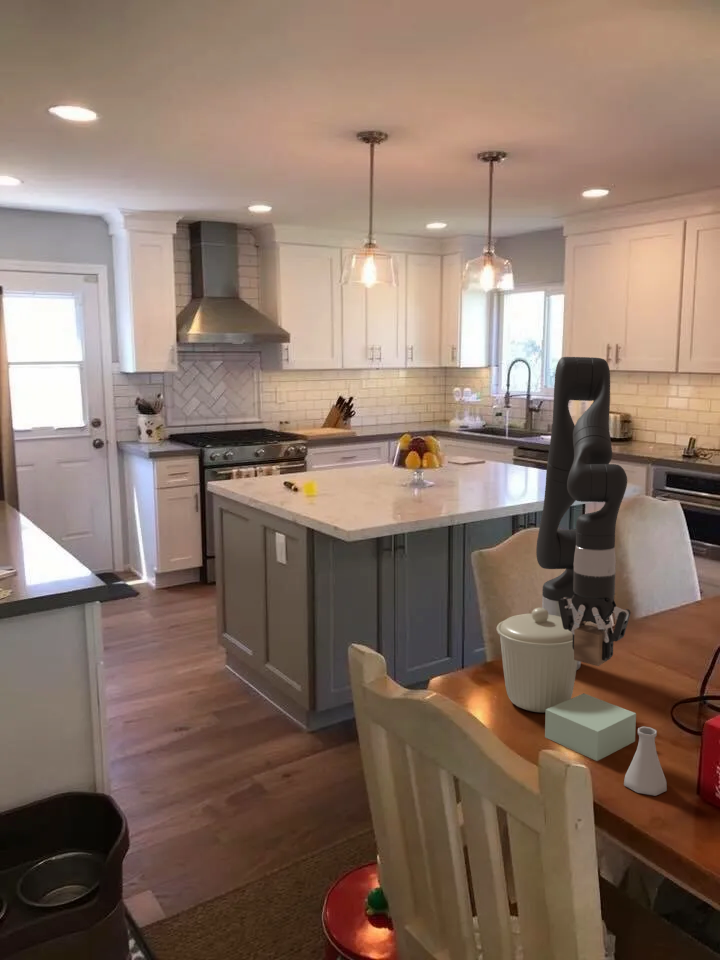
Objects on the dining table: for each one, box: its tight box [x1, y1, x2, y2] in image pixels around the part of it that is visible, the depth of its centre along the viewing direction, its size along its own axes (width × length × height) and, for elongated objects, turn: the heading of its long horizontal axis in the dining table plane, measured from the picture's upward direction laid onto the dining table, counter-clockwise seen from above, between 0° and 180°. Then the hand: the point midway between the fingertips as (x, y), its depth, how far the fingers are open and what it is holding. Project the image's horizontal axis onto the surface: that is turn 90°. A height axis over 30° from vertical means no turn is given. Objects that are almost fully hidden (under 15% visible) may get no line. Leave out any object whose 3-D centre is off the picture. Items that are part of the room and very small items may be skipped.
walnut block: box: [574, 622, 612, 667], centre depth 148 cm, size 5×5×6 cm
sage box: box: [544, 693, 637, 762], centre depth 151 cm, size 12×12×6 cm
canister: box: [496, 607, 577, 714], centre depth 166 cm, size 18×18×21 cm
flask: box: [623, 726, 668, 797], centre depth 134 cm, size 7×7×10 cm
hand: (592, 655), depth 149 cm, fingers closed on walnut block, 5 cm apart
